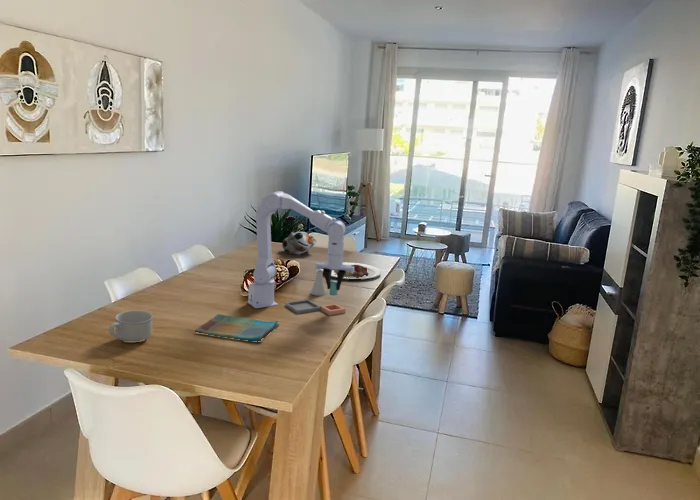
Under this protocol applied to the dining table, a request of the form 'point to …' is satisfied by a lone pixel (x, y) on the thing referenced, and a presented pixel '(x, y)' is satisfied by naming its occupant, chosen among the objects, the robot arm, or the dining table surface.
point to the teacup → (132, 325)
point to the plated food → (358, 271)
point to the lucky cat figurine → (298, 243)
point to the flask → (319, 285)
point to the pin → (333, 287)
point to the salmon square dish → (332, 309)
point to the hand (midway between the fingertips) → (333, 288)
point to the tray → (302, 306)
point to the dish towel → (237, 328)
